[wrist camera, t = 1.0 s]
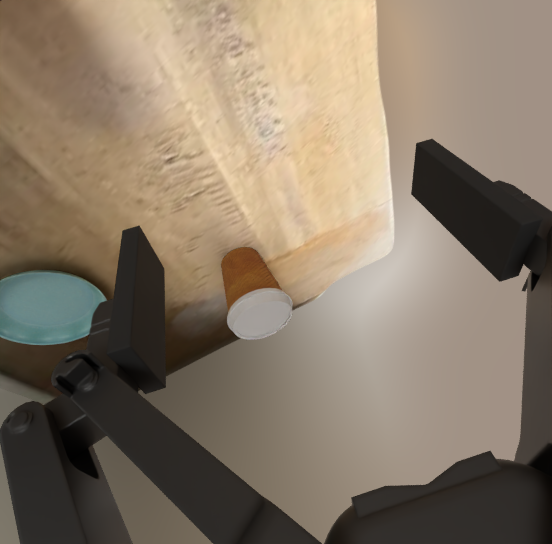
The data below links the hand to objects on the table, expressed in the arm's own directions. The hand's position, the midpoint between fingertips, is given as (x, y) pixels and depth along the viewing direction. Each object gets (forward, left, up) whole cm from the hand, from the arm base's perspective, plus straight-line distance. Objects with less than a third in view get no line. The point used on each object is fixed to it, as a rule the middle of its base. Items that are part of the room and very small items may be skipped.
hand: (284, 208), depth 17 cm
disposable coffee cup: (+19, -24, -26) cm, 40 cm away
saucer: (-5, -37, -26) cm, 46 cm away
